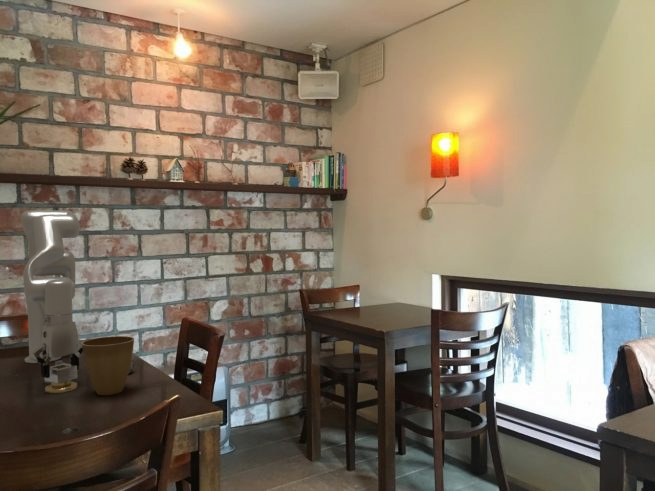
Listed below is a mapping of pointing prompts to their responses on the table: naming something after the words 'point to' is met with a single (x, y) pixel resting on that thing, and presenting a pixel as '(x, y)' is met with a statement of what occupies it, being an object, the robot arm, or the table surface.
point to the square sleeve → (62, 373)
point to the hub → (61, 387)
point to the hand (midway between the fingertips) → (60, 373)
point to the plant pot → (108, 362)
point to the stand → (55, 364)
